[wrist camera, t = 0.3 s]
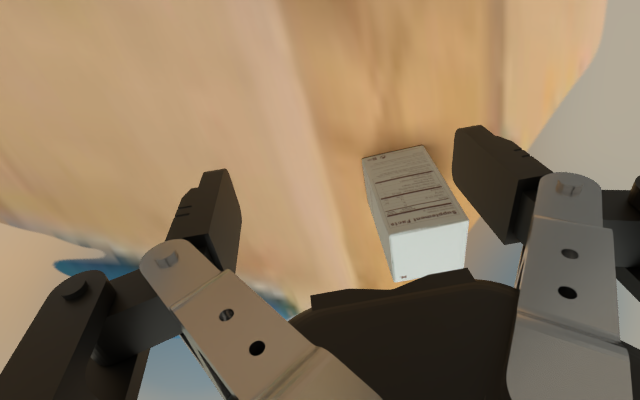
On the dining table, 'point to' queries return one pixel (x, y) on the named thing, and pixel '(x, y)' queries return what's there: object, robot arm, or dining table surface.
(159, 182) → the dining table surface
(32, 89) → the dining table surface
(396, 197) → the supplement box
